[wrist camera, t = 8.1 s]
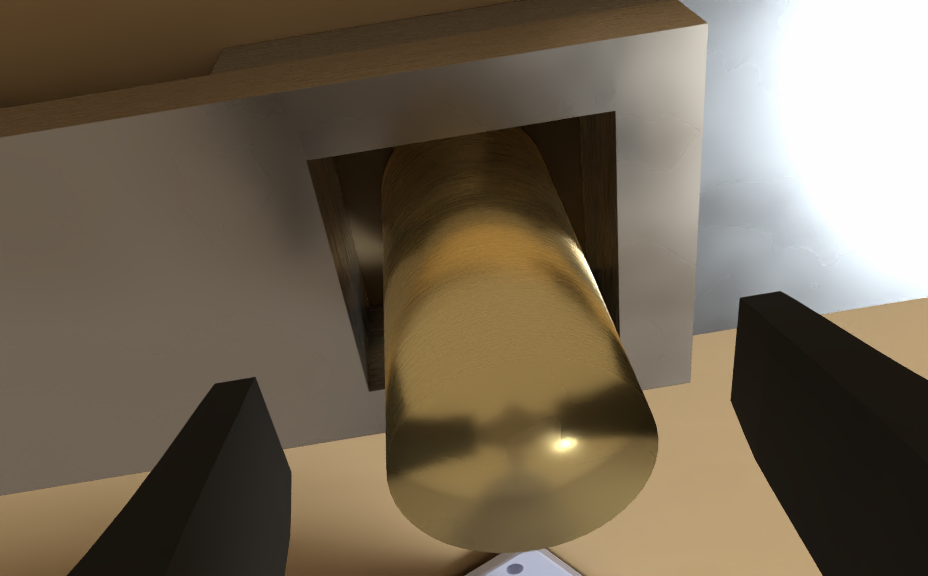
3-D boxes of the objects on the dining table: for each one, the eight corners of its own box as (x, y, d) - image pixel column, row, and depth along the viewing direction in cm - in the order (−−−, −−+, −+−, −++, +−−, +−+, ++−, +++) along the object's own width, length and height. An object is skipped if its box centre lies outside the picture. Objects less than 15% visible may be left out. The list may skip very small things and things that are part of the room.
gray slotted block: (1061, -86, 15) (1200, -57, 12) (965, 250, 19) (1054, 323, 16) (-191, 115, 15) (-308, 186, 12) (-1, 407, 19) (-58, 505, 16)
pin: (456, 287, 18) (503, 584, 12) (346, 186, 16) (327, 468, 10) (579, 193, 17) (707, 462, 10) (475, 74, 15) (551, 307, 9)
